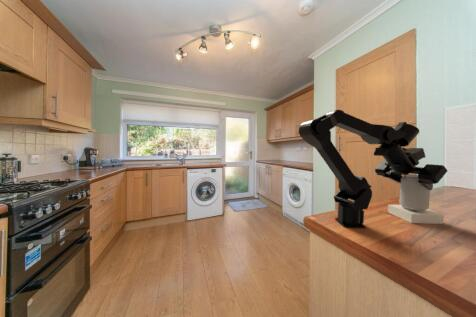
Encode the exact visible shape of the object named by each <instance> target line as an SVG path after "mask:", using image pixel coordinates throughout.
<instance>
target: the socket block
mask: <svg viewBox="0 0 476 317" xmlns="http://www.w3.org/2000/svg"><path fill="white" fill-rule="evenodd" d="M387 213H389V214H391V215H393V216H395V217H398V218H400V219H402V220H404V221H406V222H407V223H411V224H432V225H433V224H435V225H436V224H437V225H439V224H441V225H444V220H445V219H444V218H445V215H444V214H442V213H440V212H436V211H433V210H431V209H429V208H428V209H426V210H424V211H419V210H412V209H408V208H405V207H403V206H402V205H401V204H387Z"/></svg>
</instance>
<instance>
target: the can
mask: <svg viewBox="0 0 476 317" xmlns="http://www.w3.org/2000/svg"><path fill="white" fill-rule="evenodd" d="M418 181H419V179H418V174H413V173H409V174H408V175H403V177H402V178H401V184H400V185H399V186H400V187H399V201H398V203H399V205H402V206H403V207H405V208H408V209H412V210H419V211H424V210H426V209H428V210H429V208H430V196H431V190H429V189H427V188H426V187H424V186H423V185H421V184H420V183H418Z"/></svg>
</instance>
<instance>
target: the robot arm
mask: <svg viewBox="0 0 476 317" xmlns="http://www.w3.org/2000/svg"><path fill="white" fill-rule="evenodd" d="M335 127H336V128H340V129H342V130H344V131H347V132H349V133H353V134H355V135H357V136H359V137H360V139H362V141H364V142H365V143H366V144H369V145H379V146H378V147H375V148H374V151H373V156H378V157H379V156H380V157H383V159H384V160H381V162H380V163H379V164H378V165H377V166H376V168H375V169H374V172H375V173H376V175H377V176H381V177H383V178H387V179H389V180H390V181H394V182H395V183H398V184H400V185H401V178H402V177H404V175H408V174H413V175H418V179H419V181H418V183H420V184H421V185H423V186H424V187H426V188H427V189H429V190H430V191H432V190H433V188H434V185H435V184H438V183H439V182H440V181H441V180H442V179H443V177H444V176H446V174H447V173H448V169H447V168H446V167H445V165H443V164H434V163H433V164H432V163H431V164H429V163H427V164H425V165H424V167H421V166H418V165H419V163H420V160H422V159H424V158H426V157H427V156H426V153H425V151H424V147H409V148H405V147H407V146H409V145H410V144H411V142H413V141H414V140H415V138H416V137H417V136H418V135H419V134H420V129H419V127H417V126H415V125H413V124H409V123H407V122H406V121H399V122H398V123H397V124H396V126H395V127H392V126H390V125H386V124H378V123H377V124H375V123H371V122H368V121H366V120H363V119H360V118H359V117H356V116H354V115H351V114H349V113H346V112H344V111H343V109H336V110H331V111H328V112H327V113H325V114H324V115H322V116H319V117H317V118H313V119H310V120H306V121H303V122H302V123H301V124H300V125H299V127H298V135H299V137H300V138H302V140H304V141H305V142H306V143H307V144H308V145H310V146H311V147H313V148H314V149H315V150H316V151H317V152H318V155H320V157H321V158H322V159H323V161H324V162H325V164H326V165H327V167H328V168H329V169H330V170H331V172H332V173H333V175H334V176H335V178H336V179H337V181H338V185H337V186H338V189H339V190H338V191H337V192H336V193H335V195H334V196H333V200H334V202H335V203H337V217H335V220H336V221H337V222H338V223H339V224H340V225H342V226H343V227H345V228H361V229H363V228H366V225H365V224H364V222H365V220H364V219H365V211H364V210H368V208H369V206H370V202H371V200H372V196H373V191H372V188H373V187H372V186H371V185H370V184H369V182H368V180H367V178H366V177H364V176H359V175H355V174H354V173H353V172H352V170H351V168H350V166H349V165H348V164H347V162H346V161H345V159H344V158H343V156H342V154H340V152H339V151H338V150H337V148H336V146H335V144H334V143H333V142H332V131H331V130H332V129H333V128H335Z"/></svg>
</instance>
